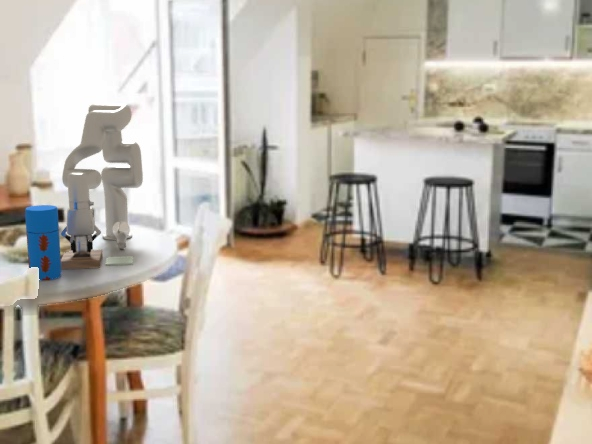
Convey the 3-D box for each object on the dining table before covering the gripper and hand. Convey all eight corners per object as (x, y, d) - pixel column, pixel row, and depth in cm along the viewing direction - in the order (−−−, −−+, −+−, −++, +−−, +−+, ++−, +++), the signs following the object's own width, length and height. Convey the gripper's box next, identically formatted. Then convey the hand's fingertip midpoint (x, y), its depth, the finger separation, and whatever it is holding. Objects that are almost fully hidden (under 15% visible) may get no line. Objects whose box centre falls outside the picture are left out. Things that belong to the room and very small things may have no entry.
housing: (65, 258, 285) (65, 250, 285) (102, 257, 288) (102, 249, 287) (60, 269, 270) (60, 261, 269) (99, 267, 273) (99, 260, 272)
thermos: (30, 282, 254) (25, 211, 249) (28, 274, 263) (23, 206, 258) (63, 278, 258) (59, 209, 253) (59, 271, 268) (55, 204, 262)
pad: (107, 258, 286) (107, 257, 285) (133, 257, 287) (133, 256, 287) (105, 265, 276) (105, 263, 276) (132, 264, 278) (132, 262, 278)
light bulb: (126, 252, 296) (125, 223, 293) (110, 251, 297) (109, 222, 295) (133, 248, 303) (132, 219, 300) (117, 247, 304) (116, 218, 301)
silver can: (76, 259, 281) (74, 232, 279) (90, 259, 282) (88, 231, 280) (74, 263, 276) (73, 235, 274) (89, 263, 277) (87, 234, 275)
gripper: (103, 202, 280) (105, 248, 284) (57, 203, 277) (60, 250, 280) (102, 206, 272) (104, 253, 276) (54, 207, 269) (57, 255, 273)
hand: (82, 251), depth 278 cm, fingers closed on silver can, 5 cm apart
